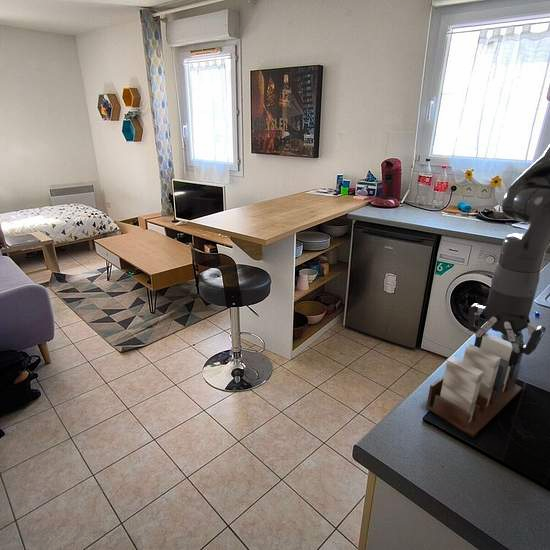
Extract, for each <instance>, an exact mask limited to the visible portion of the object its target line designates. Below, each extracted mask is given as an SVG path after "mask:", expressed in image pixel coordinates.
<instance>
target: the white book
mask: <svg viewBox="0 0 550 550" xmlns="http://www.w3.org/2000/svg"><path fill="white" fill-rule="evenodd" d="M480 349H483V350H485V351H487V352H489V353H492V354H494V355H496V356H498V357H501V358H502V359H504V360H506V361H508V362H509V359H510V355H511V352H512V351H513V348H512V345H511V342H508V341H506V340H503V339H502V337H499V336H495V335H493V334H491V333H489V332H487V333H486V334H485V335H483V337H482V341H481V345H480ZM510 368H511V367H510V366H508V369H507V373H506V376H505V380H504V388H503V391H504V389H505V385H506V382H507V378H508V375H509V371H510ZM503 391H502V392H503Z"/></svg>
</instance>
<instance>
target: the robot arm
mask: <svg viewBox="0 0 550 550" xmlns="http://www.w3.org/2000/svg"><path fill="white" fill-rule="evenodd" d="M501 211H502V213H503V215H504V216H505V217H507V218H508V219H510V220H513V221H517V222H521V223H524V224H528V228H527V230H526V232H525V233H511V234H508V235H506V236H505V237H504V239H503V241H502V244H501V248H500V252H499V255H498V261H497V263H496V267H495V269H494V272H493V275H492V278H491V281H490V282H491V283H490V288H489V293H488V296H487V301H486V305H485V306H483V305H481V304H480V303H478V302H476V303H473V304H472V305H470V306H469V307H468V318H467V319H468V321H467V330H468V331H469V332H472V333H474V334H475V340H474V344H473V345H474V346H476V347H478V348H480V345H481V341H482V337H483V335H485V334H486V333H489V331H490V330H492V331H494V332H499V333H500V334H501V335H502V334H504V335H507V336H508V339H509V342H511V345H512V348H513V351H512V352H511V355H510V359H509V366H510V367H513V366H516V365H517V364H518V363H519V362H520V359H521V356H522V353H523V354H525V355H527V356H529V355H531V354H532V353H533V352H534V351H536V350H537V347H538V345H539V343H540V342H541V340H542V338H543V337H544V334H545V332H546V331H547V329H546V327H545V326H544V325H539V326H538V325H536V324H534V323H531V321H530V314H531V310H532V307H533V304H534V300H535V297H536V293H537V289H538V286H539V283H540V277H541V275H540V274H541V270H542V267H543V263H544V260H545V256H546V252H547V251H548V248H549V246H550V144H549V145H548V147H547V148H546V150H545V151H544V152H543V154H542V155H541V156H540V157H539V158H538V159H537V160H536V161H534V163H532V164H531V165H530V166H529V167H528V168H527V169H526V170H525V171H524V172H523V173H522V174H521V175H520V176H518V177H517V178H516V179H515V180H514V181H513V182H512V183H511V184H510V186H509V187H508V188H507V190H506V191H505V193H504V195H503V197H502V200H501ZM482 314H483V316H484V318H485V320H486V322H485V323H484V324H483V325H482V326H480V317H481V316H480V315H482ZM525 329H527V330H528V332H527V333H528V336H530V337H529V339H528V341H527V343H526V344H525V343H524V334H523V330H525ZM522 357H523V356H522ZM521 360H522V359H521ZM520 363H521V362H520Z"/></svg>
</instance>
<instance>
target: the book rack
mask: <svg viewBox="0 0 550 550" xmlns="http://www.w3.org/2000/svg"><path fill="white" fill-rule="evenodd" d="M523 356H524V353H522V356H521V359H520V362H519V363H518V364H517V365H516V366H513V367H511V368H510V371H509V375H508V378H507V382H506V385H505V389H504V391H503V388H504V380H505V376H506V373H507V369H508V366H509V362H508V361H506V360H504V359H502V358H501V357H498V356H496V355H494V354H492V353H489V352H487V351H485V350H483V349H480V348H478V347H476V346H474V344H469V345H467V346H466V347H465V350H464V354H463V359H462V360H461V359H459V358H457V357H455V356H451V357H449V358H447V361H446V365H445V370H444V374H443V375H442V376H440V378H438V379H436V380H435V381H434V382H433V383H431V384H430V385H429V390H428V395H427V401H426V405H425V409H427V410H429V411H430V412H432V413H434V414H435V415H436V416H438V417H440V418H442V419H443V420H444V421H446V422H447V423H449V424H451V425H453V426H454V427H455V428H457V429H459V430H460V431H462V432H464V433H465V434H466V435H468V436H470V437H471V438H474V437H475V436H476V435H477V434H478V433H480V432H481V431H482V429H484V428H485V426H487V424H489V423H490V422H491V421H492V420H493V419H494V418H495V417H496V416H497V415H498V414H499V413H500V412H501V411H502V410H503V409H504V408H505V407H506V406H507V405H508V404H510V402H511V401H513V399H514V398H516V397H517V395H519V394H520V393H521V392H522V390H523V387H522V386H520V385H518V384H516V382H517V379H518V377H519V376H518V375H519V372H520V371H519V369H520V365H521V362H522V358H523ZM502 391H503V392H502Z"/></svg>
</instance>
